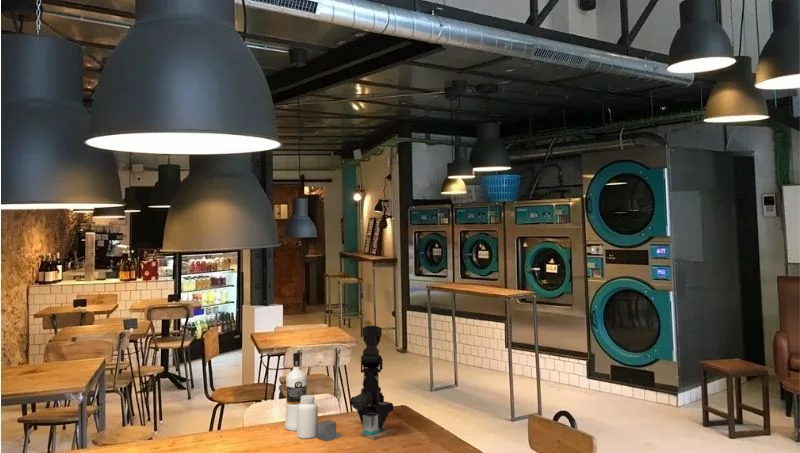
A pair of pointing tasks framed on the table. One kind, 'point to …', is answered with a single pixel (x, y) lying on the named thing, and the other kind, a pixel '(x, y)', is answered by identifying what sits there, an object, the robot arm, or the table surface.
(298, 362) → the vodka
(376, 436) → the pin board
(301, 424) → the pill bottle
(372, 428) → the sleeve
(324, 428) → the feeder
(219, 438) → the table surface
